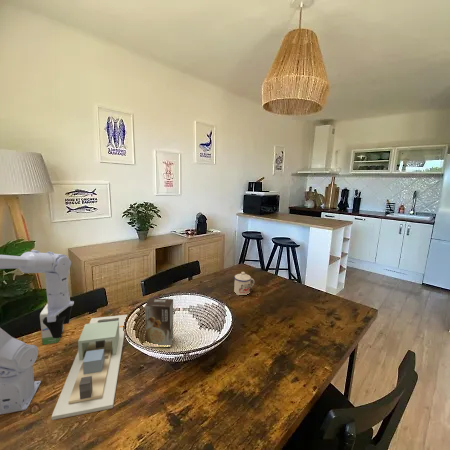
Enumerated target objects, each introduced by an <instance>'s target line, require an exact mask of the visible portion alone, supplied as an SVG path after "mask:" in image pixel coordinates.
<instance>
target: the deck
mask: <svg viewBox="0 0 450 450" xmlns="http://www.w3.org/2000/svg"><path fill="white" fill-rule="evenodd" d="M126 317H127V318H128V314H121V315H110V316H101V317H92V318H90V320H89V323H88V324H90V323H100V322H109V321H118V320H119V342H118V347H117V353H116V355H113V349H112V353H111V358H110V363H109V367H108V372H107V377H106V381H105V386H104V391H103V396H102V397H101V398H96V399H90V400H85V401H80V402H74V403H69V404H68V401H69V398H70V396H71V393H72V390H73V387H74V384H75V382H76V379H77V376H78V373H79V370H80V368H81V365H82V362H83V360H79V349H78V350H77V353H76V355H75V357H74V360H73V362H72V365H71V368H70V370H69V372H68V375H67V377H66V380H65V382H64V384H63V387H62V390H61V392H60V395H59V397H58V400H57V402H56V404H55V407H54V409H53V411H52V414H51V420H52V421H55V420H59V419H64V418H69V417H74V416H80V415H84V414H89V413H94V412H99V411H104V410H110V409H113V408H114V404H115V397H116V390H117V384H118V379H119V373H120V372H119V371H120V367H121V366H120V364H121V359H122V352H123V347H124V339H125V334H124V331H123V326H124V322H125V319H126ZM107 342H112V339H110V340H105V343H107ZM92 344H96V341H95V342H89V344H88V345H92ZM87 348H88V347H87ZM86 351H87V349H86ZM85 354H86V352H85ZM84 356H85V355H84ZM83 359H84V358H83Z"/></svg>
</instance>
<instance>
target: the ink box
mask: <svg viewBox="0 0 450 450" xmlns="http://www.w3.org/2000/svg"><path fill="white" fill-rule="evenodd" d="M47 306H48V303H46V304H45V306H44V307H43V309H42V310H41V312H40V313H39V321H40V329H41V330H40V331H41V332H40V333H41V342H42V345H51V344H56V343H59V341H60V339H61V338H53V337H52V335H51V332H50V330H49V329H48V327H47V326H46V325H44V324H43V319H44V318H45V317H47V315H48V308H47ZM58 316H59V315H58ZM63 332H64V328H63V330H62V333H63Z"/></svg>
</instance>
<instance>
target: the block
mask: <svg viewBox="0 0 450 450" xmlns="http://www.w3.org/2000/svg"><path fill="white" fill-rule="evenodd" d="M104 361H105V356H104V349H100V350H93V351H87V352H86V354H85V357H84V360H83V374H89V373H95V372H102V369H103V365H104Z"/></svg>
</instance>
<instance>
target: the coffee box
mask: <svg viewBox="0 0 450 450" xmlns="http://www.w3.org/2000/svg"><path fill="white" fill-rule="evenodd" d="M144 318H145V319H144V323H145V326H144V328H145V342H146V341H147V342H149V343H153V344H158V345H171V343H172V344H173V342H172V339H173V336H174V298H155V297H152V298H151V297H150V298H149V299H148V300H147V302H146V303H145V305H144ZM173 340H174V339H173ZM171 346H172V345H171Z"/></svg>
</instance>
